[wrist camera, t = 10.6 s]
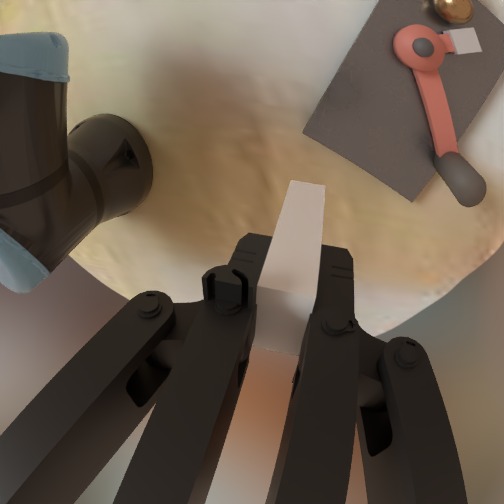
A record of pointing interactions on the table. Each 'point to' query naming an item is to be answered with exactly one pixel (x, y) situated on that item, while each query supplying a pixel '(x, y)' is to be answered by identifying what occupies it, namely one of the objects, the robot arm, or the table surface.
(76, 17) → the table surface
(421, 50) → the lever
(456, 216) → the table surface
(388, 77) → the base
